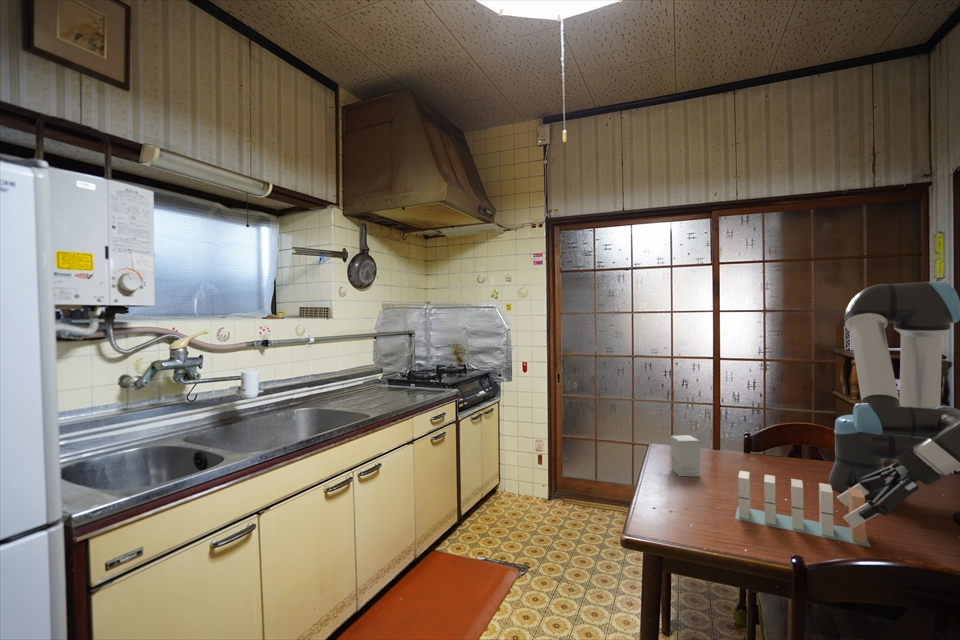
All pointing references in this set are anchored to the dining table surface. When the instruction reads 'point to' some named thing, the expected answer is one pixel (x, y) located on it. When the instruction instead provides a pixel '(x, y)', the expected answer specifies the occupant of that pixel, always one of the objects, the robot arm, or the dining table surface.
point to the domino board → (809, 526)
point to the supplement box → (685, 455)
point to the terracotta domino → (854, 502)
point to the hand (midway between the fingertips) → (844, 511)
